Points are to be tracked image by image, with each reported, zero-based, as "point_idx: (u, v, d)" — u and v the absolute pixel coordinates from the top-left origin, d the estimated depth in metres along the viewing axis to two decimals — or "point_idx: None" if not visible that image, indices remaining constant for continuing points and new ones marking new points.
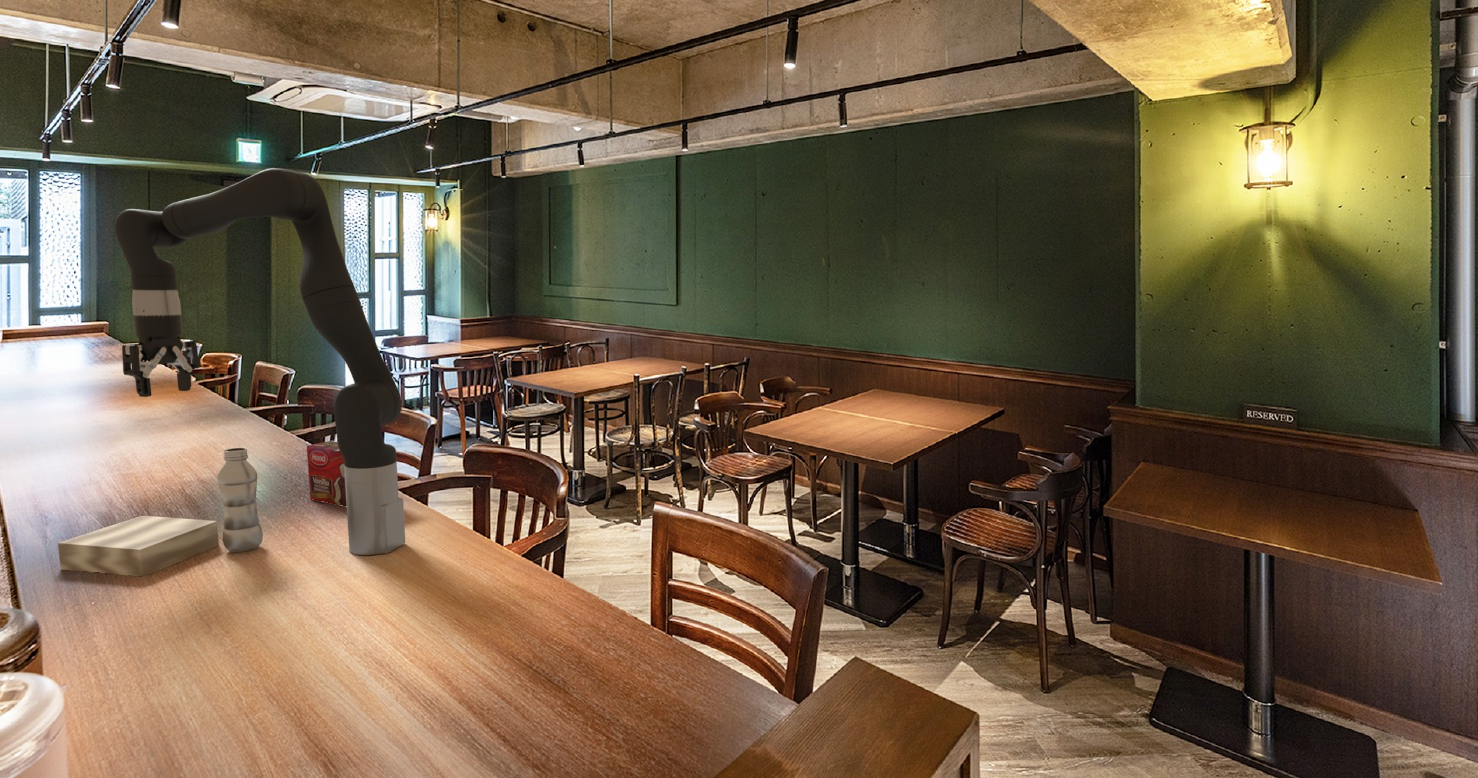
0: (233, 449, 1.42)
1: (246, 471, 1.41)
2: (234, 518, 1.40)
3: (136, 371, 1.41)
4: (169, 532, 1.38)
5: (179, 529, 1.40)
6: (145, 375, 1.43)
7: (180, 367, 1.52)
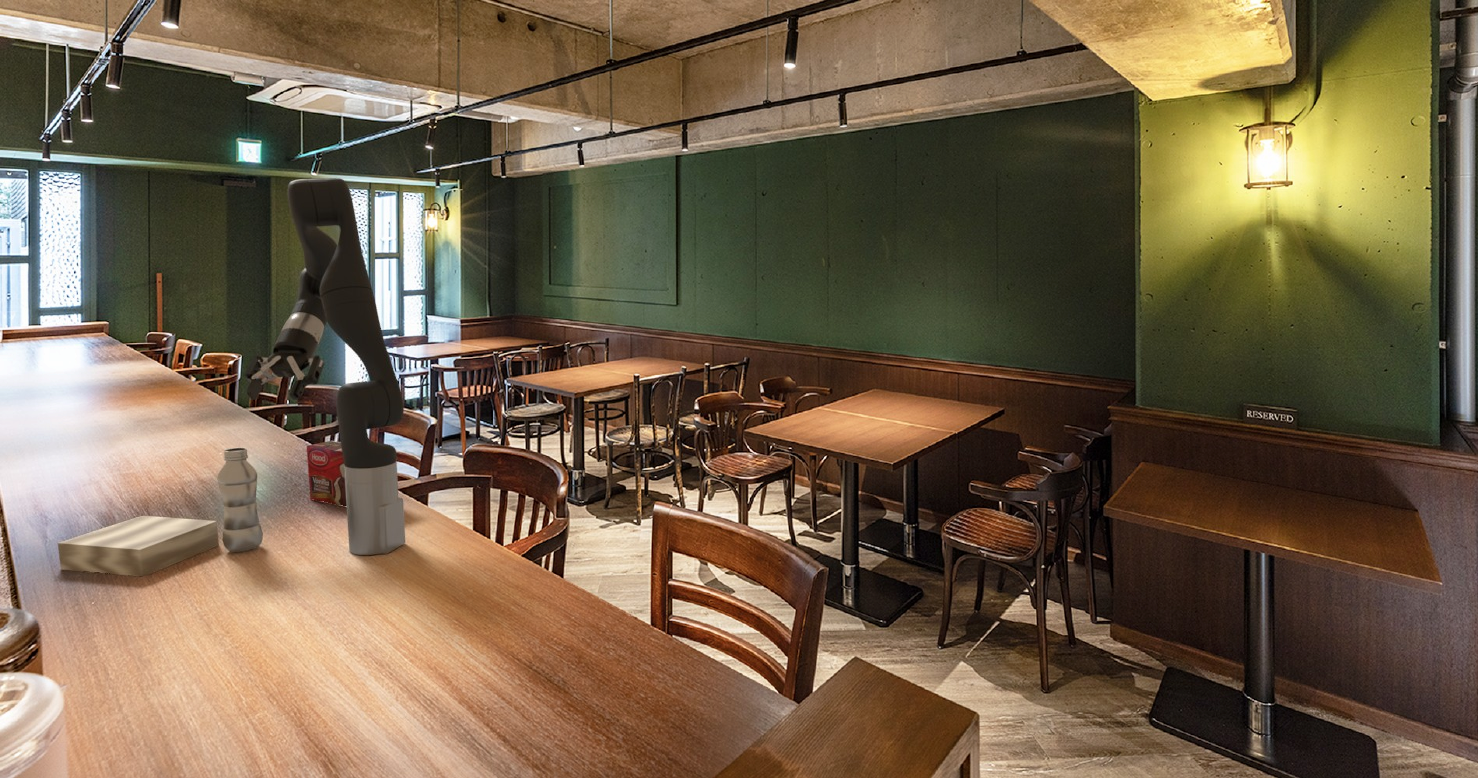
0: (233, 449, 1.42)
1: (246, 471, 1.41)
2: (234, 518, 1.40)
3: (246, 373, 1.54)
4: (169, 532, 1.38)
5: (179, 529, 1.40)
6: (253, 377, 1.54)
7: None
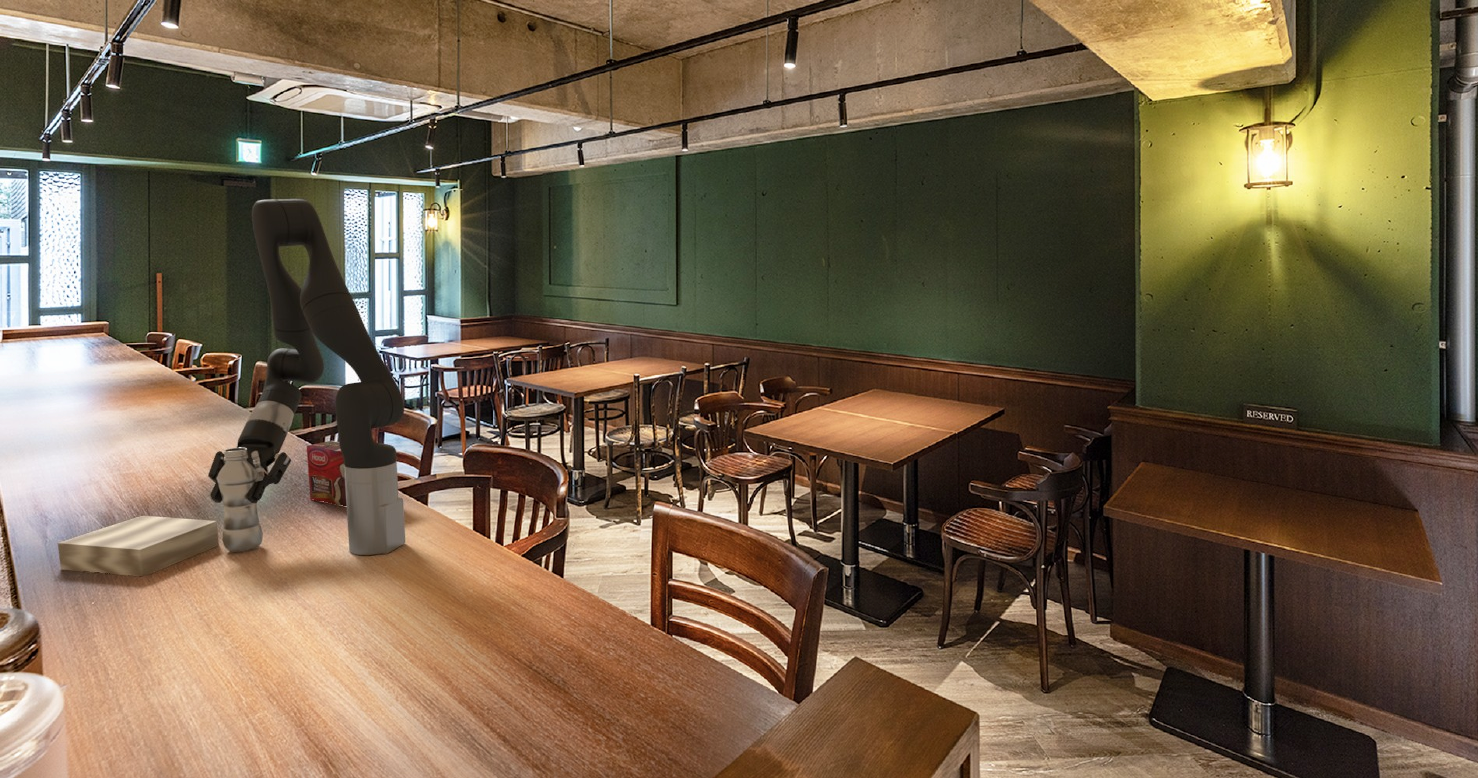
0: (233, 449, 1.42)
1: (246, 471, 1.41)
2: (234, 518, 1.40)
3: (211, 473, 1.43)
4: (169, 532, 1.38)
5: (179, 529, 1.40)
6: None
7: None
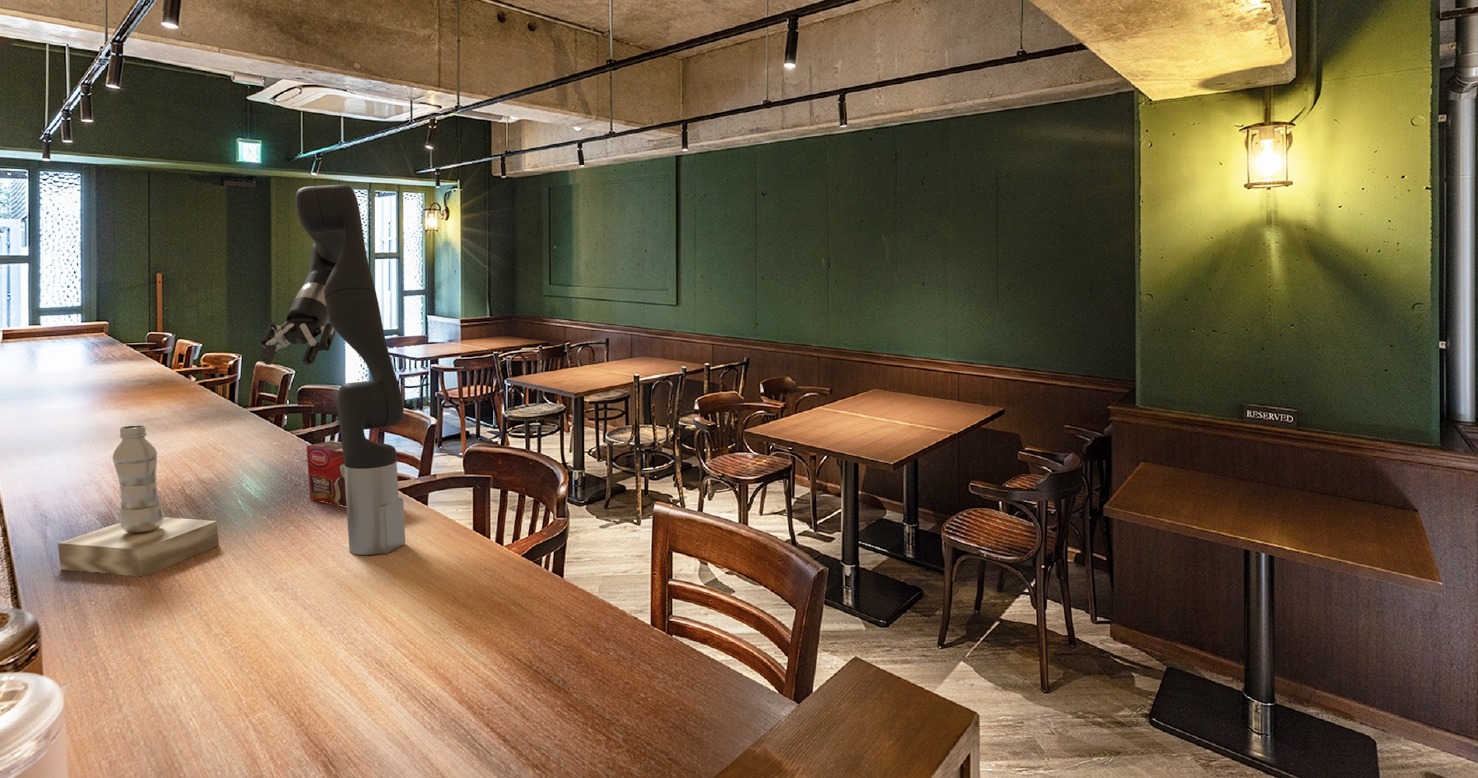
0: (131, 427, 1.37)
1: (143, 449, 1.36)
2: (130, 498, 1.35)
3: (261, 339, 1.60)
4: (169, 532, 1.38)
5: (179, 529, 1.40)
6: (267, 343, 1.59)
7: None
